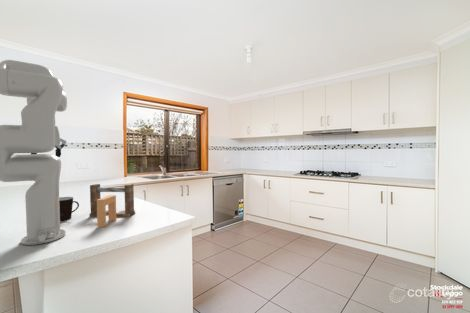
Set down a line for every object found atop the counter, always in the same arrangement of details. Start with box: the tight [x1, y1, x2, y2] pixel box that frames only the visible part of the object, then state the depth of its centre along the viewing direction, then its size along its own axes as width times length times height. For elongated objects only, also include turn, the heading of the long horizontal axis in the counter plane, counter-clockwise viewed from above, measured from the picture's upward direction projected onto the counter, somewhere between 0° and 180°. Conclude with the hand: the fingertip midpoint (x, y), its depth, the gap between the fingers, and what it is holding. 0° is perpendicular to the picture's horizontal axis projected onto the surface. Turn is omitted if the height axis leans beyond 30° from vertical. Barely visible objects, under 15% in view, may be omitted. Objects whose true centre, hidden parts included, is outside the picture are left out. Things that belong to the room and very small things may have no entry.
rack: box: [88, 183, 136, 218], centre depth 112 cm, size 20×6×16 cm, turn 88°
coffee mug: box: [59, 196, 80, 222], centre depth 105 cm, size 12×9×10 cm
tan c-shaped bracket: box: [96, 194, 117, 228], centre depth 99 cm, size 3×9×12 cm, turn 178°
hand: (46, 157), depth 110 cm, fingers open, 9 cm apart
